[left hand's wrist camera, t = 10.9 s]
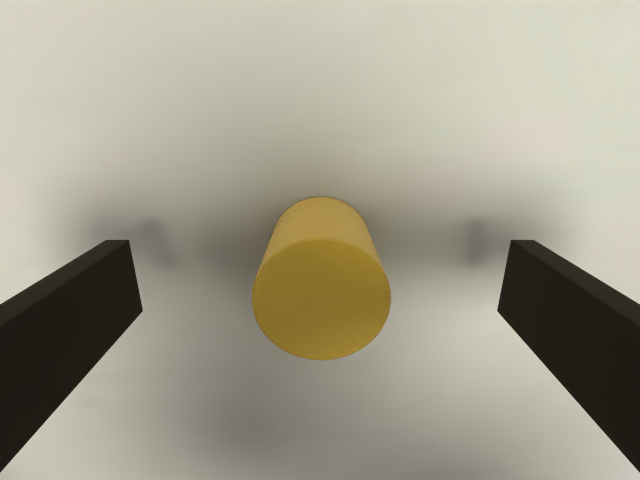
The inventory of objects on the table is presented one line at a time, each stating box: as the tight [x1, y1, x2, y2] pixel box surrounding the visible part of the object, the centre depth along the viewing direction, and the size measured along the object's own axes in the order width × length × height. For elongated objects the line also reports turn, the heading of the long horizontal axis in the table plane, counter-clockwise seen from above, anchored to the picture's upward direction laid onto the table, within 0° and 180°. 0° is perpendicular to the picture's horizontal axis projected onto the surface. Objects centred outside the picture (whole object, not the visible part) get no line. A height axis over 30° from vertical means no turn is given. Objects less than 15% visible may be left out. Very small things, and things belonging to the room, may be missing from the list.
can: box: [252, 197, 391, 360], centre depth 13 cm, size 4×4×5 cm
